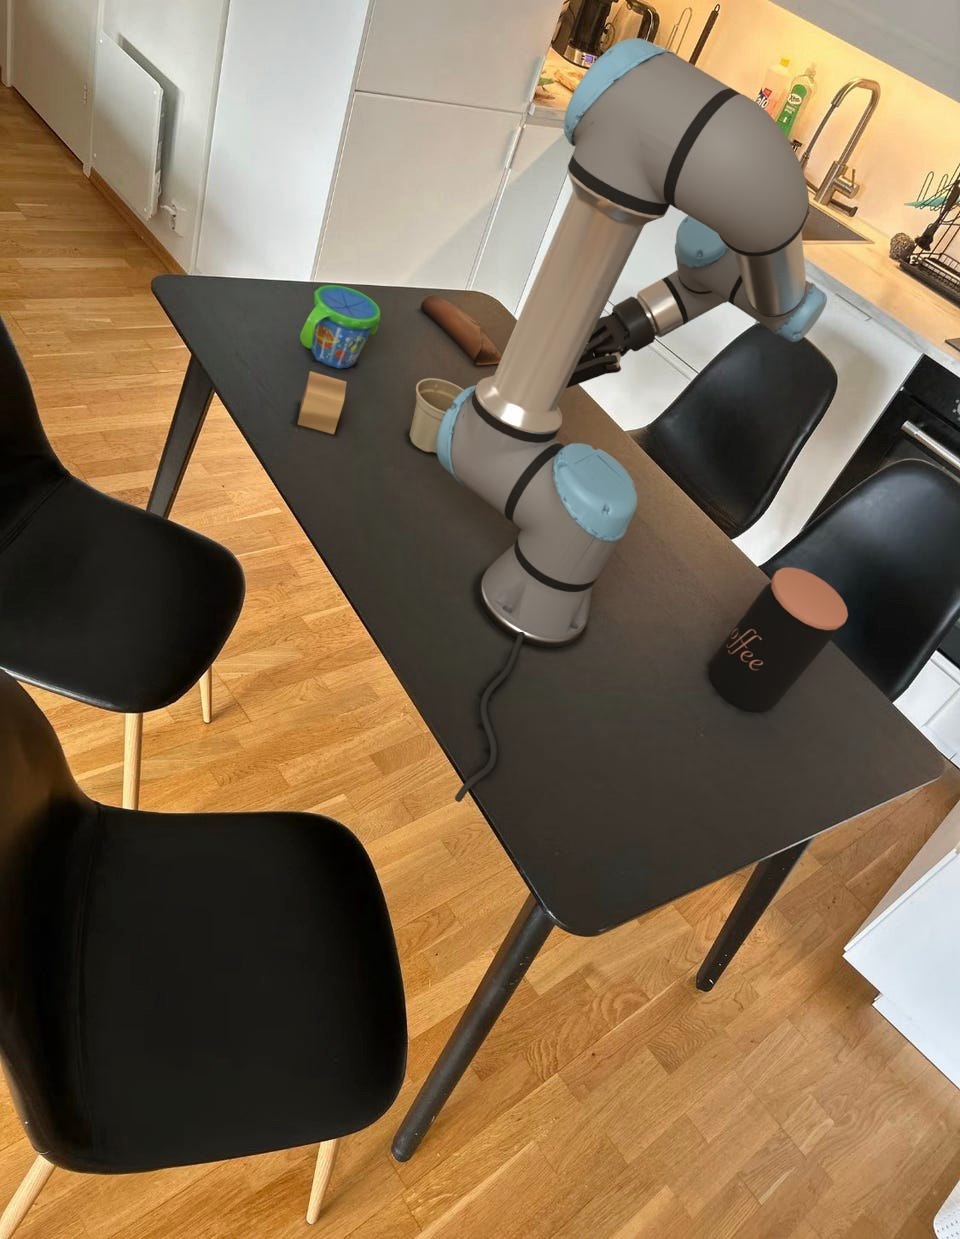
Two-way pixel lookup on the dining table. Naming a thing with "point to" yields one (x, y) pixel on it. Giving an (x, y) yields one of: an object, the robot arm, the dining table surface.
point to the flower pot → (431, 411)
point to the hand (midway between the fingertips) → (508, 395)
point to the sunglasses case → (462, 330)
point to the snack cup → (339, 325)
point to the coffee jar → (776, 640)
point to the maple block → (322, 403)
